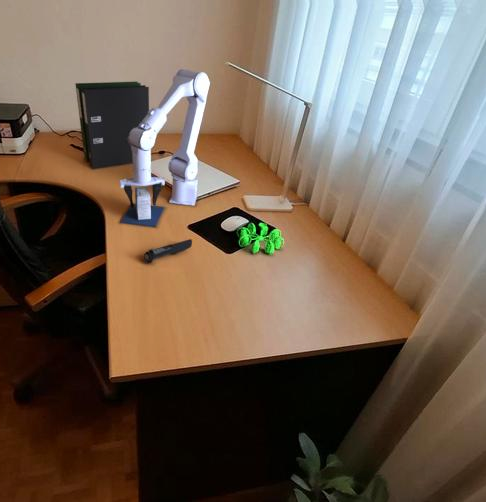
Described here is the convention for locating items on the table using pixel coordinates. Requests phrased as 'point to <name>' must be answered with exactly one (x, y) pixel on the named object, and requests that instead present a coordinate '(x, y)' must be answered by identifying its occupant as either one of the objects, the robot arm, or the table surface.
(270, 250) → the green cluster
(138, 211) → the medicine box
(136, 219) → the cloth
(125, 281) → the table surface
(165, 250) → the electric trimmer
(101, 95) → the binder
